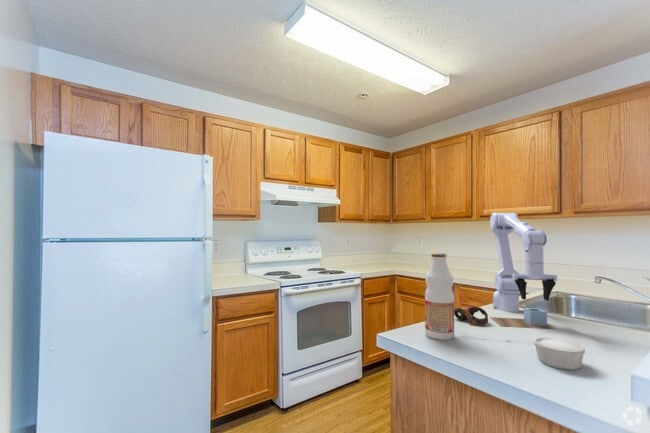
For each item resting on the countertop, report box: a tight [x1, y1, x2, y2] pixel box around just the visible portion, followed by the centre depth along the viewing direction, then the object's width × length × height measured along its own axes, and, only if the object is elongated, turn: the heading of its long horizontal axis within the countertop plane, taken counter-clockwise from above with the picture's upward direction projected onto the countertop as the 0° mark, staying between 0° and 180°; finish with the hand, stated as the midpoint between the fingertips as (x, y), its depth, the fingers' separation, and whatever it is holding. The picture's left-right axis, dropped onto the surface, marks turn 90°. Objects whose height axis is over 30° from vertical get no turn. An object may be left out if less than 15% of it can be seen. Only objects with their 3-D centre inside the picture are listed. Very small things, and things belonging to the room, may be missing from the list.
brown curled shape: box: [454, 305, 489, 327], centre depth 121 cm, size 12×10×8 cm
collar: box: [523, 307, 548, 326], centre depth 118 cm, size 5×5×5 cm
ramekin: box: [534, 337, 586, 371], centre depth 88 cm, size 11×11×5 cm
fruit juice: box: [424, 252, 455, 341], centre depth 109 cm, size 9×9×28 cm
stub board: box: [489, 316, 556, 330], centre depth 119 cm, size 18×12×5 cm, turn 81°
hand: (534, 299), depth 119 cm, fingers open, 7 cm apart
